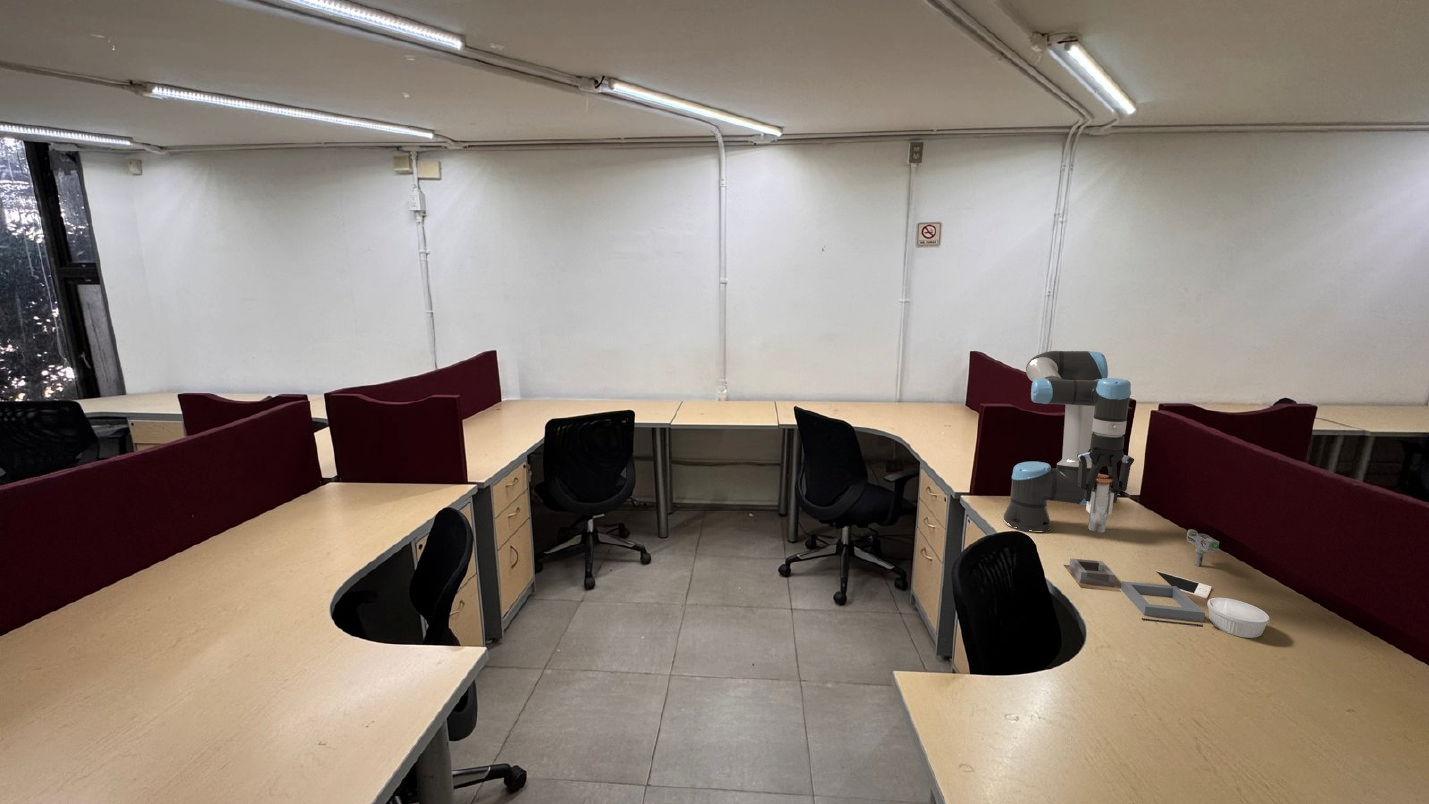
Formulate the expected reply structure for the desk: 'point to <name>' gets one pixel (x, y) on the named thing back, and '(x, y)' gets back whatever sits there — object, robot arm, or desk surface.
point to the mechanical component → (1201, 544)
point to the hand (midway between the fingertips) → (1098, 512)
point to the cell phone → (1187, 585)
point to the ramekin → (1237, 617)
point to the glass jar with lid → (1100, 503)
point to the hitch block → (1092, 574)
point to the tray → (1185, 612)
